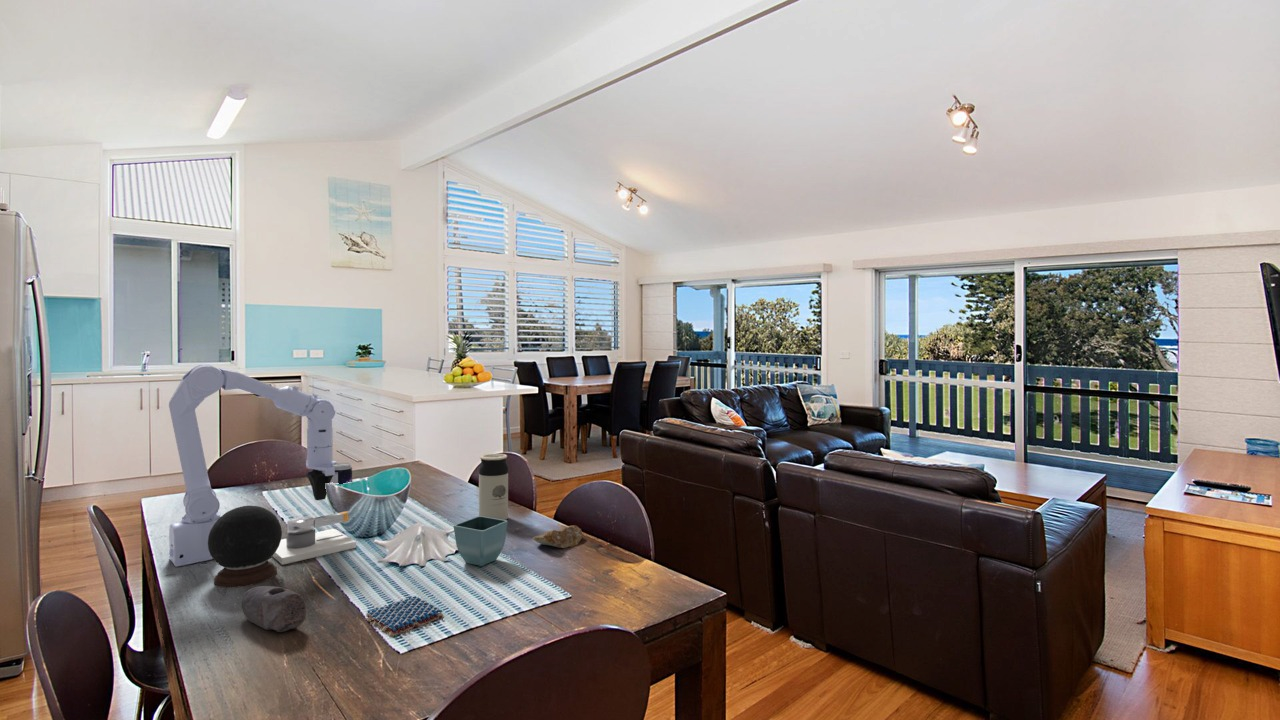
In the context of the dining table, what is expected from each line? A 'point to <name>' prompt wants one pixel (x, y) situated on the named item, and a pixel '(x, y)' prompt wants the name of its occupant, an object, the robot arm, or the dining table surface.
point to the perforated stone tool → (274, 608)
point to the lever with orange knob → (314, 522)
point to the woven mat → (403, 615)
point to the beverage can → (342, 473)
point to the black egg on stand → (244, 546)
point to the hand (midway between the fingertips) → (320, 499)
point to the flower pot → (480, 539)
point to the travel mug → (493, 486)
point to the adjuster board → (311, 545)
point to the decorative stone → (561, 537)
